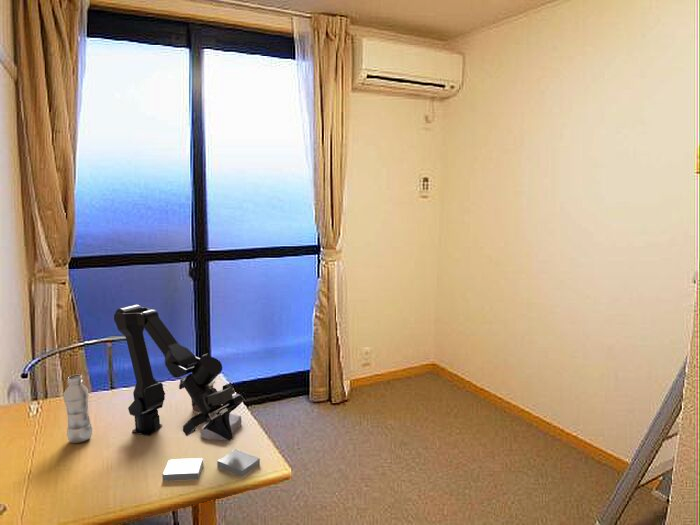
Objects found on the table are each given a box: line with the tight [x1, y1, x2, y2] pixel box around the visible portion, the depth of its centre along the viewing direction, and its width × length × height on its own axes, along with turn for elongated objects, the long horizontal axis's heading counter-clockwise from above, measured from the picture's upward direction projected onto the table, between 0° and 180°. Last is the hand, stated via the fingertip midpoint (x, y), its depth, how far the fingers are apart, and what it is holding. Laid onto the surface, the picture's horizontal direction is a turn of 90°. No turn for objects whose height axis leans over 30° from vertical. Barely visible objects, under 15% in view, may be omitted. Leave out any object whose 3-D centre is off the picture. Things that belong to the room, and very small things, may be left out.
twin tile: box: [161, 457, 204, 482], centre depth 134 cm, size 9×7×2 cm
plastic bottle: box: [62, 374, 93, 444], centre depth 148 cm, size 6×7×20 cm
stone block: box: [199, 413, 243, 441], centre depth 157 cm, size 12×5×10 cm
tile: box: [216, 448, 261, 478], centre depth 138 cm, size 2×7×9 cm
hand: (231, 439), depth 138 cm, fingers closed
